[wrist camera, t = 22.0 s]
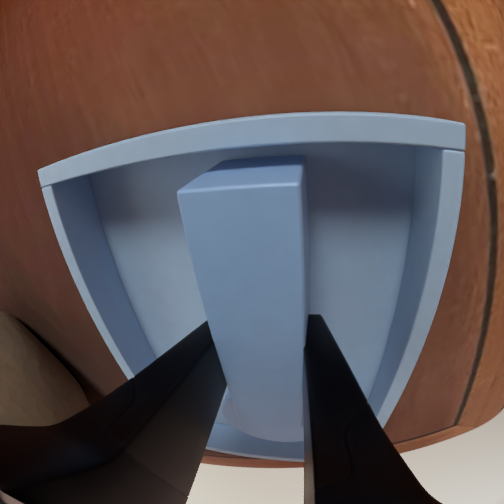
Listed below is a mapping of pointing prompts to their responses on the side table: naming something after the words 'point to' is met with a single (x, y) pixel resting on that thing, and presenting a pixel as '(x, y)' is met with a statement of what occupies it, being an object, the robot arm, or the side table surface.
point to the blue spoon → (254, 285)
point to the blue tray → (320, 238)
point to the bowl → (33, 380)
